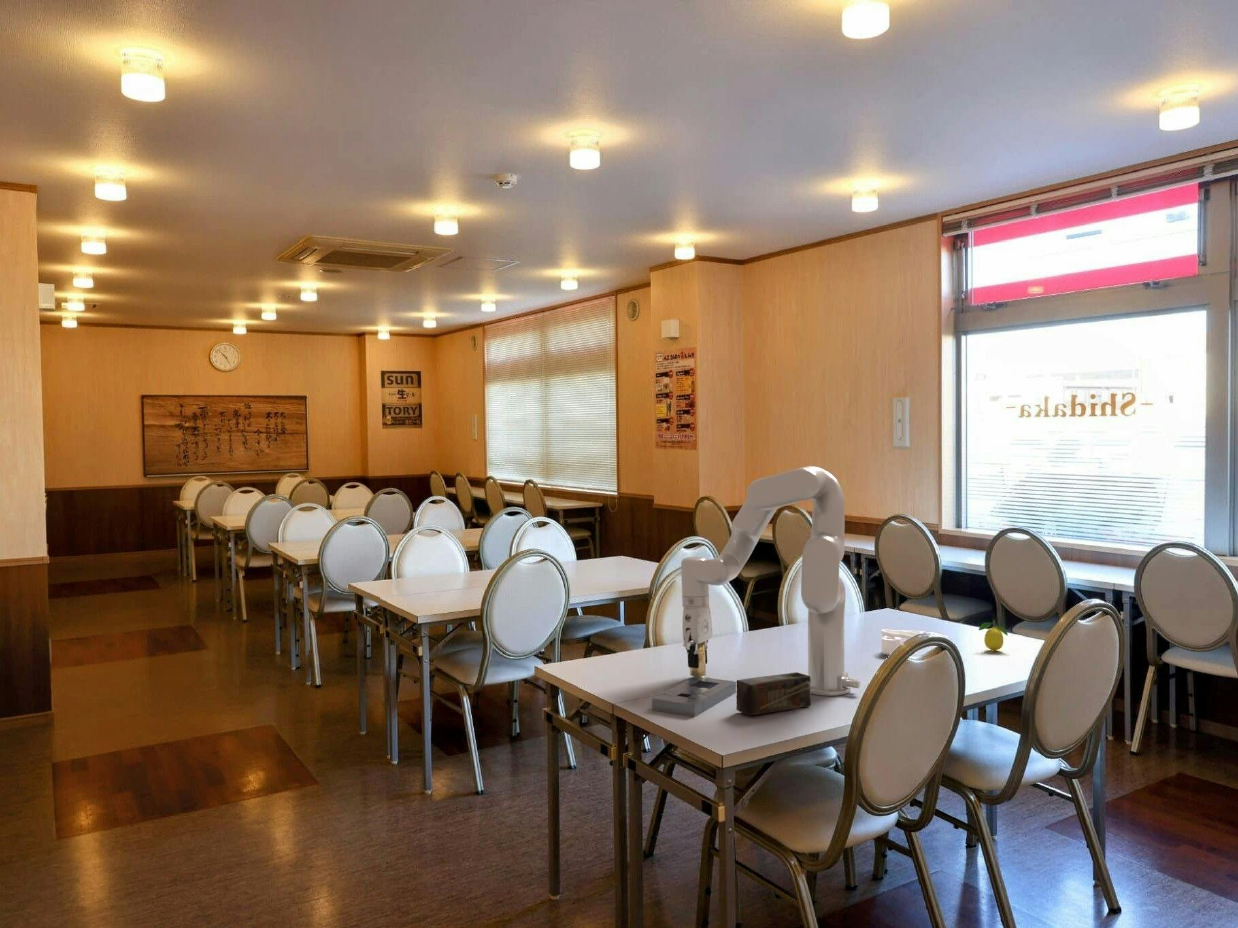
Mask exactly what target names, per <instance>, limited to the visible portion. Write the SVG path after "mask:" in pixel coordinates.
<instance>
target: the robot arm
mask: <svg viewBox="0 0 1238 928" xmlns="http://www.w3.org/2000/svg"><path fill="white" fill-rule="evenodd" d="M747 487H748V488H747V490H746V499H745V501H744V502H743V504H742V506H741V508H740V509H739V510H738V512H737V514H736V515H735V517H734V519H733V520H732V531H731V534H730V536H729V539H728V541H727V543H726V544H725V546H724V548H723V549H722V551H721V553H720V554H719V556H716V557H715V558H712V559H706V558H705V557H704V556H687V557H685V558H683V559H681V563H680V569H681V570H680V571H681V572H680V573H681V574H680V575H681V599H682V601H681V602H682V603H681V604H682V608H683V609H682V628H681V629H682V640H683V644H682V645H683V647H684V649H685V650H686V654H687V667H688V668H689V669H690V668H699V654H697V649H698V644H700V643H702V642H705V665H707V664H708V648H709V647H708V642H709V640H711V639H712V637H713V623H712V614H711V613H712V611H711V608H710V592H709V591H710V590H709V586H710V585H711V586H719V587H720V586H724V585H726V584H728V583H729V582H730V581H733V580H734V579H736V578H737V576H738V575H739V574H740V573H741V571H742V569H743V568H744V566H745V564H746V563H747V562H748V560H749V558H750V556H751V555H752V553H753V551H754V550H755V547H756V546H757V544H758V542H759V540H760V537H761V536H762V534H763V533H764V531H765V530H766V528H767V526H768V524H769V523H770V521H771V520H772V518H773V517H774V515H775V513H776V512H777V510H778V508H781V507H785V506H788V505H792V504H797V503H800V502H804V501H805V502H806V501H808V500H811V501H812V513H811V534H810V538H808V540H807V541H806V543H805V544H804V546H803V550H802V557H801V578H800V579H801V580H800V595H801V596H800V597H801V601H802V604H803V605H804V606H805V608H807V609H808V611H807V670H808V671H807V675H808V676H810V678H811V695H812V694H813V695H818V696H828V697H831V696H832V697H833V696H834V697H835V696H836V697H837V696H843V695H847V694H849V693H850V692H851V689H860V687H861V681H860V680H859V679H858V678H850V677H849V674H848V672H846V671H845V611H846V609H845V608H846V586H845V584H844V581H843V579H842V578H841V577H840V563H841V561H842V560H843V558H844V555H845V522H846V521H845V519H846V518H845V512H846V511H845V510H846V509H845V505H846V504H845V494H844V491H843V489H842V486H841V484H840V482H839V481H838V480H837V478H836V477H835V476H834V475H833V474H831V473H830V472H829V471H827V470H825V469H824V468H821V467H818V466H813V465H807V466H803V467H799V468H796V469H793V470H789V471H785V472H781V473H778V474H774V475H771V476H766V477H765V476H764V477H761V478H757V479H755V480H754V481H752V482H751V483H750V485H749V486H747ZM694 642H695V643H694ZM691 645H694V648H693V646H691Z"/></svg>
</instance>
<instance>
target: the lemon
mask: <svg viewBox="0 0 1238 928" xmlns="http://www.w3.org/2000/svg"><path fill="white" fill-rule="evenodd" d="M992 624H993V626H992V627H991V628H989V629H988V630H986V632H985V634H984V645H985V647H986V648H987V649H989V650H991V651H992V652H993V653H994V652H995V653H996V652H997V651H998V650H1000V649H1002V648H1003V646H1004V636H1003V634H1004V635H1006V636H1009V635H1008V632H1007V630H1006V629H1005V628H1004V627H1003V626H1000V625H995V621H993V622H983V623H982V624H981V625H980V626H979V628H978V631H983V630H985V629H987V628H988V627H990V626H991V625H992Z"/></svg>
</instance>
